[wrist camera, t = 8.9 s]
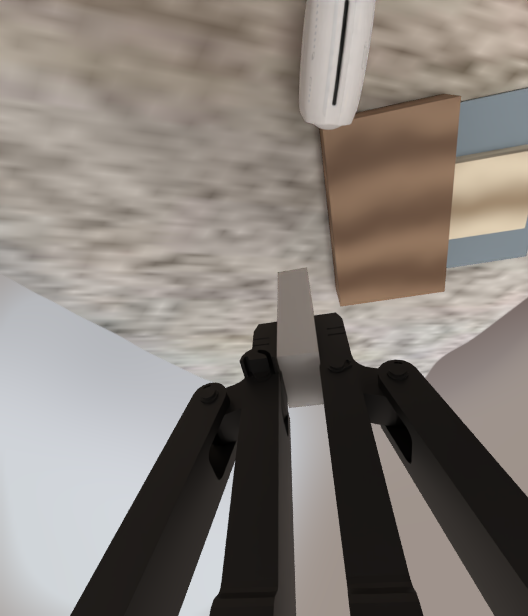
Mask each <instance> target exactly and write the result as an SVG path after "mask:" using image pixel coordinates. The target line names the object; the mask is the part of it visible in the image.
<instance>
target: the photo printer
mask: <svg viewBox="0 0 528 616" xmlns="http://www.w3.org/2000/svg"><path fill="white" fill-rule="evenodd" d="M375 2H376V0H307V2H306V8H305V16H304V26H303V37H302V49H301V63H300V81H299V109H300V114H301V116H302V117H303V119H304V120H305V122H307V123H311V124H314V125H315V126H316V127H319V128H321V129H325V130H332V129H336V128H338V127H340V126H344V125H350V124H351V123H352V121H353V118H354V116H355V113H356V111H357V108H358V104H359V100H360V96H361V92H362V87H363V82H364V77H365V71H366V66H367V60H368V54H369V48H370V41H371V35H372V27H373V20H374V12H375Z"/></svg>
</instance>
